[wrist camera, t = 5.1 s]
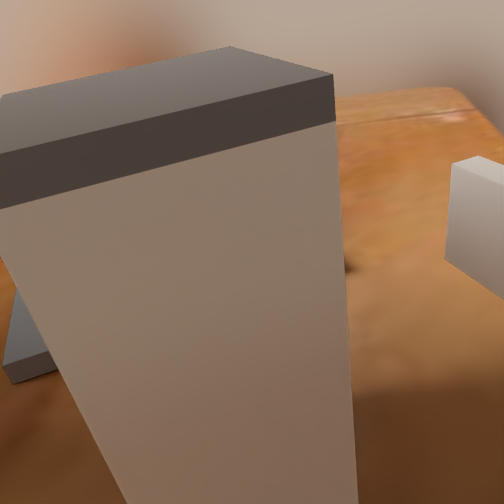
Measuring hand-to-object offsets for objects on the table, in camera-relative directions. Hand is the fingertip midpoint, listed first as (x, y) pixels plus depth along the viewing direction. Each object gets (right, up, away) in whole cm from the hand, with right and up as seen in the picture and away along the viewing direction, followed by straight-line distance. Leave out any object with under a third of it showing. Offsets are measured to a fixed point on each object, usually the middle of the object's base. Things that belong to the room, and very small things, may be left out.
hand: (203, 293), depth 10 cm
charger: (+1, -6, +3) cm, 6 cm away
